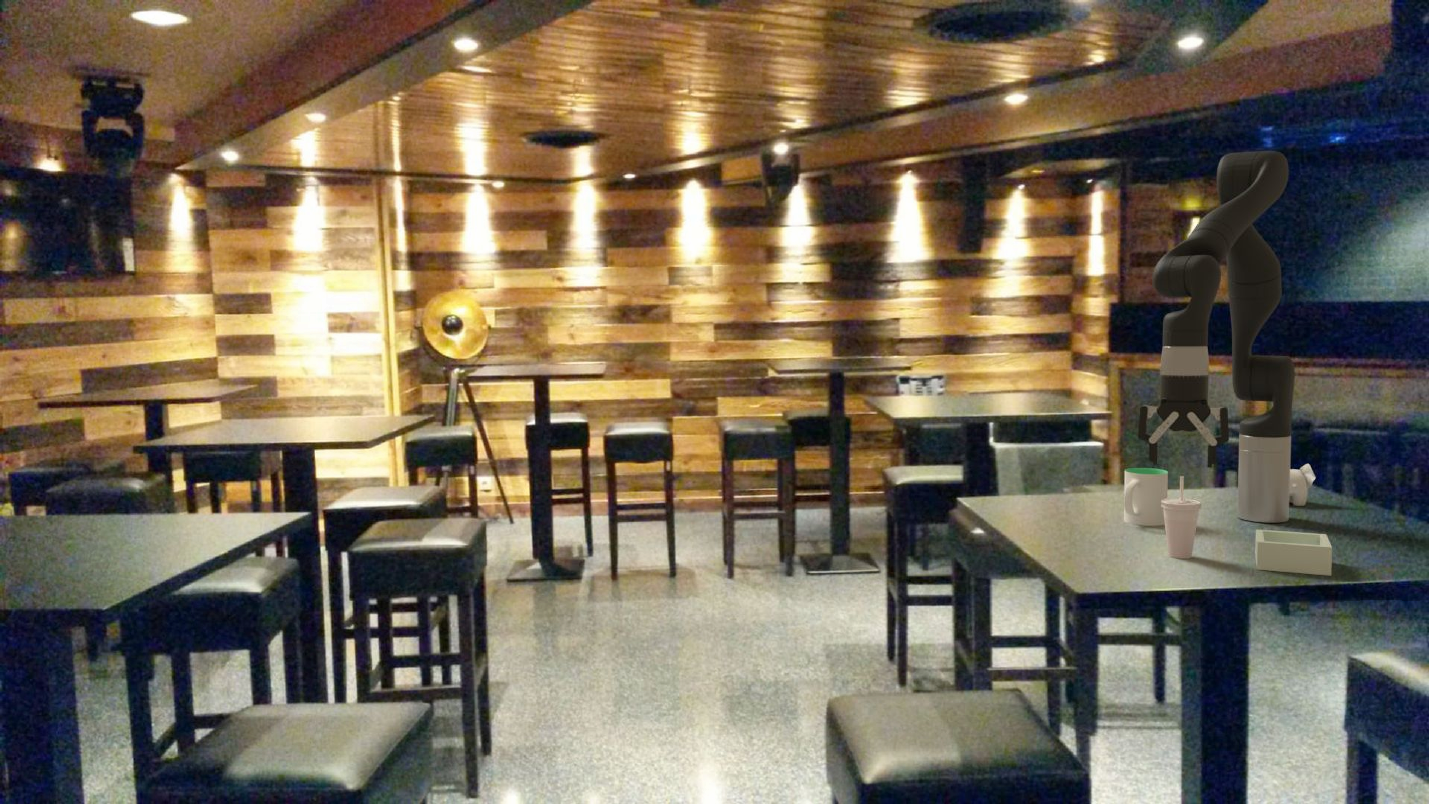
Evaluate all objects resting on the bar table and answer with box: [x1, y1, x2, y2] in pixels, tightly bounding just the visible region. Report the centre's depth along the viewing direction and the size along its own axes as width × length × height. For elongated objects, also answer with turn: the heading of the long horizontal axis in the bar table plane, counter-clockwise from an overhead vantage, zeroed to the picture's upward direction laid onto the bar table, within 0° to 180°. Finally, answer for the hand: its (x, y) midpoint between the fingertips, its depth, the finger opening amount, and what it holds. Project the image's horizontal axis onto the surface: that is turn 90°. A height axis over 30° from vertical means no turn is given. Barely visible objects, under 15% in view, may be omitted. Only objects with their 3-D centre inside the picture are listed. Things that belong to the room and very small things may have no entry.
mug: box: [1123, 467, 1169, 527], centre depth 204 cm, size 12×8×10 cm, turn 136°
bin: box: [1254, 529, 1333, 577], centre depth 169 cm, size 10×10×5 cm
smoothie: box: [1161, 475, 1202, 560], centre depth 176 cm, size 6×6×14 cm
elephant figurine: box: [1289, 463, 1316, 507], centre depth 222 cm, size 10×12×9 cm
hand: (1182, 465), depth 175 cm, fingers open, 8 cm apart
